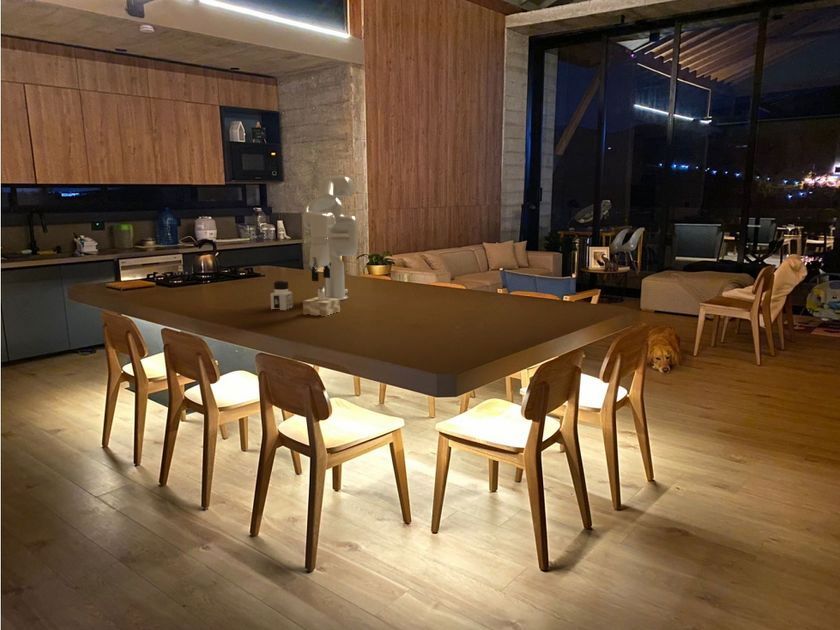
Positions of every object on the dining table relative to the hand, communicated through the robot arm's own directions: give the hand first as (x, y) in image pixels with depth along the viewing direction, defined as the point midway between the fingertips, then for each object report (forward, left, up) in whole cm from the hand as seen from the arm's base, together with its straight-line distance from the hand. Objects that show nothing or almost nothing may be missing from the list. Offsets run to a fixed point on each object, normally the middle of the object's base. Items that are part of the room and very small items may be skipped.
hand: (321, 279), depth 286 cm
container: (-1, -23, -16) cm, 28 cm away
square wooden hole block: (+1, 0, -15) cm, 15 cm away
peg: (+1, 0, -15) cm, 15 cm away
